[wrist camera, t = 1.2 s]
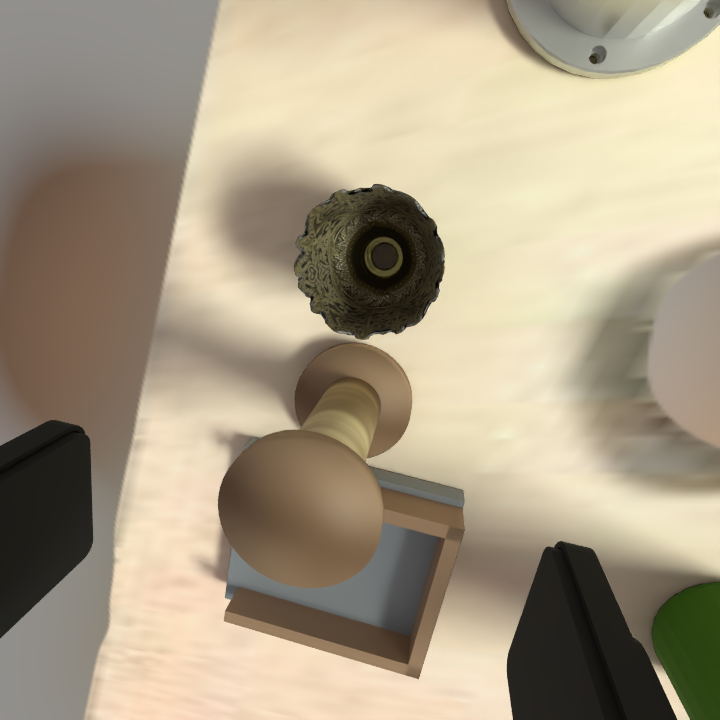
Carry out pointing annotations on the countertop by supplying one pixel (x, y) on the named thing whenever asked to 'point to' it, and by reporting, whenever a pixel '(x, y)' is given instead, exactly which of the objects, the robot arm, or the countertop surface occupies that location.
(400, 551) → the wooden tray
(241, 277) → the countertop surface
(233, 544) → the bobbin post
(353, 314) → the cup
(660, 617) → the wine bottle
